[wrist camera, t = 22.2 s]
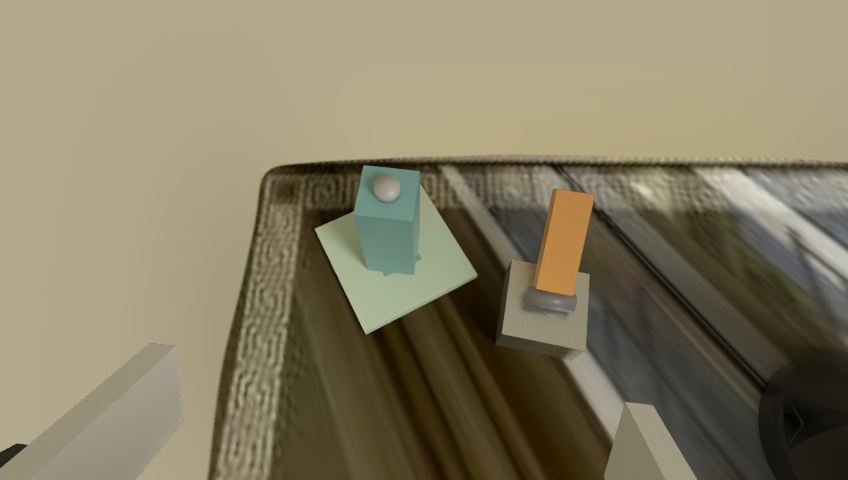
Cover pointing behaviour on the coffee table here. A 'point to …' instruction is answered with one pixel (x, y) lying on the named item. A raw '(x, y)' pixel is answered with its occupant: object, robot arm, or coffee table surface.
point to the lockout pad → (392, 292)
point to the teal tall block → (389, 218)
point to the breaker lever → (561, 251)
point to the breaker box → (540, 317)
